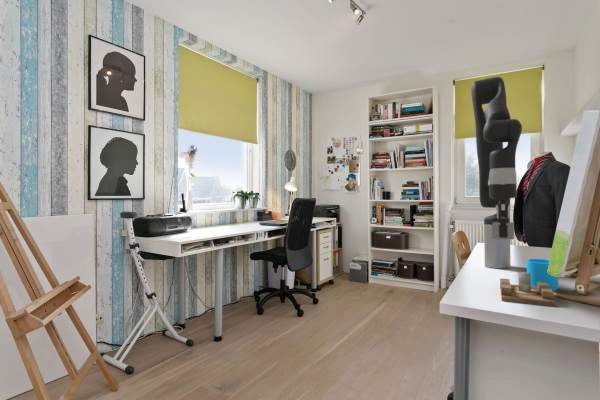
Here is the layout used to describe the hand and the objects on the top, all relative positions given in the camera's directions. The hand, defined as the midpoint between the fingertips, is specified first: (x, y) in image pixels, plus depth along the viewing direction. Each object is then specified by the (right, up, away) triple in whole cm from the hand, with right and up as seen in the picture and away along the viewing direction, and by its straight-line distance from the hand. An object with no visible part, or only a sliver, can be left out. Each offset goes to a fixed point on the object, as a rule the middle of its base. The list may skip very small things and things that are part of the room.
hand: (503, 236), depth 110 cm
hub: (0, -1, 0) cm, 1 cm away
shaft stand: (+1, -16, -9) cm, 19 cm away
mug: (+14, -16, +2) cm, 22 cm away
